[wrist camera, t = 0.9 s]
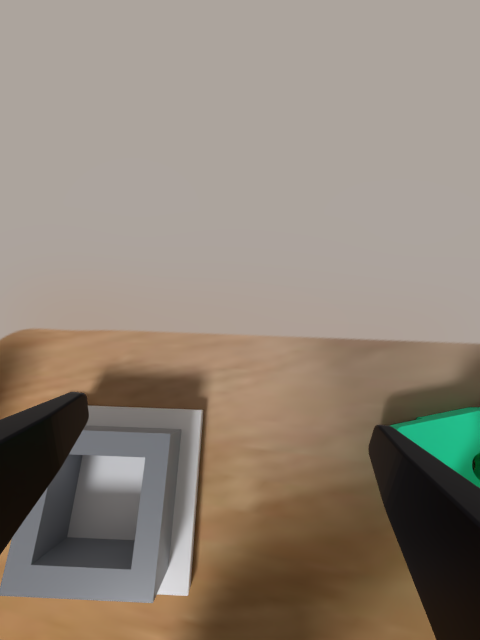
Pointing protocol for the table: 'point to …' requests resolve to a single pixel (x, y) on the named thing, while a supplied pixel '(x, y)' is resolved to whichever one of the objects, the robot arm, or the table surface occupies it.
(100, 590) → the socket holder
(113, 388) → the table surface
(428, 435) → the camera mount
